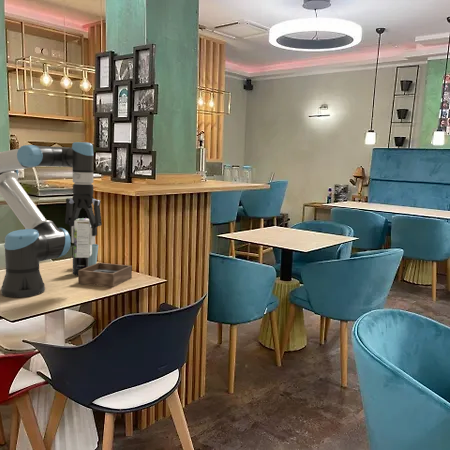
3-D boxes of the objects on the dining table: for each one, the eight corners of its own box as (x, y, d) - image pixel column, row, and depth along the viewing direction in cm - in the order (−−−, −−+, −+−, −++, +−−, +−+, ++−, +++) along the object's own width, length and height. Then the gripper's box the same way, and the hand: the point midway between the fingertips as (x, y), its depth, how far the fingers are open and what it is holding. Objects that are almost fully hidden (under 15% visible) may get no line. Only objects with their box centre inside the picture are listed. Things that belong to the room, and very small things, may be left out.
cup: (91, 269, 210) (91, 247, 209) (78, 267, 213) (78, 245, 212) (101, 265, 218) (101, 244, 216) (88, 264, 220) (88, 243, 219)
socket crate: (78, 283, 186) (78, 270, 185) (99, 274, 201) (99, 262, 200) (113, 287, 181) (113, 274, 181) (131, 278, 197) (131, 265, 196)
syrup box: (77, 254, 177) (76, 218, 175) (92, 254, 177) (92, 218, 175) (74, 257, 171) (73, 220, 169) (90, 257, 172) (89, 220, 170)
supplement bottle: (78, 276, 196) (78, 249, 195) (69, 274, 200) (69, 247, 199) (92, 273, 202) (91, 247, 200) (82, 271, 206) (82, 245, 204)
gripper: (54, 182, 169) (54, 242, 172) (101, 185, 164) (101, 247, 167) (66, 182, 176) (66, 239, 180) (111, 184, 171) (111, 243, 174)
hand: (83, 243), depth 173 cm, fingers closed on syrup box, 7 cm apart
